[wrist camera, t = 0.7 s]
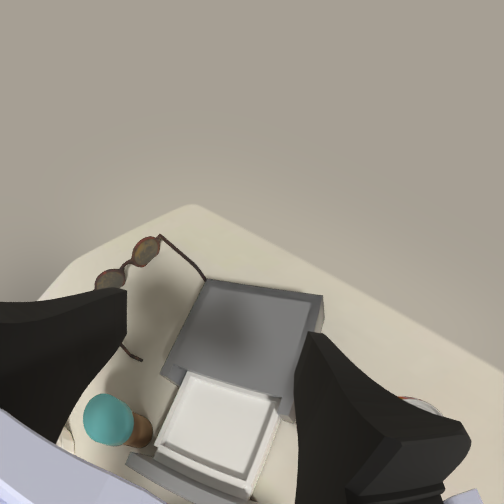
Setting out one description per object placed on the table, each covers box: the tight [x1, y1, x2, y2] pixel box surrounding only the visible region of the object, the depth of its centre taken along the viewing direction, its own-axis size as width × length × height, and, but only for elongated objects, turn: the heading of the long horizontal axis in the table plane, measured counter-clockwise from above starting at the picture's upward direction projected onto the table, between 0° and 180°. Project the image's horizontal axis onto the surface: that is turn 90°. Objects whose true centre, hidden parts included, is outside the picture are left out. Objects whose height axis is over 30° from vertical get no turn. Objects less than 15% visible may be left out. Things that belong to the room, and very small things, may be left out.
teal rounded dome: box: [83, 394, 134, 446], centre depth 22 cm, size 5×5×2 cm
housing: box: [160, 279, 325, 423], centre depth 28 cm, size 12×13×4 cm
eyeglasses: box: [93, 234, 207, 362], centre depth 37 cm, size 15×15×5 cm
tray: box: [125, 371, 282, 504], centre depth 22 cm, size 13×12×4 cm
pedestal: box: [123, 412, 153, 448], centre depth 24 cm, size 4×4×4 cm
